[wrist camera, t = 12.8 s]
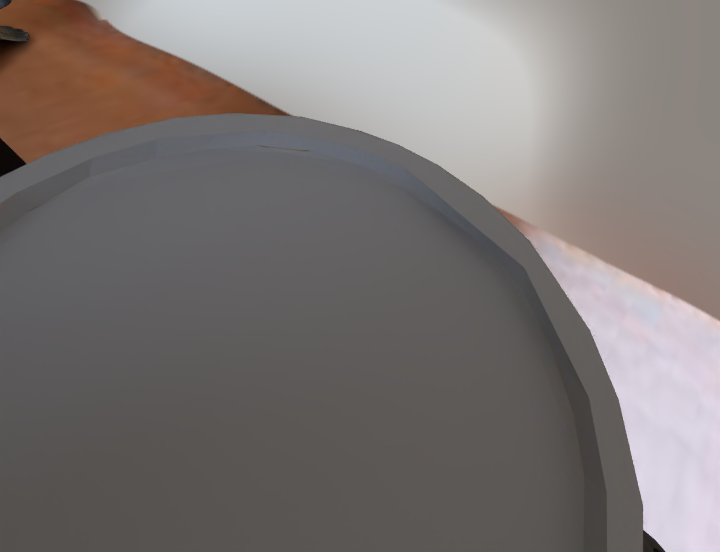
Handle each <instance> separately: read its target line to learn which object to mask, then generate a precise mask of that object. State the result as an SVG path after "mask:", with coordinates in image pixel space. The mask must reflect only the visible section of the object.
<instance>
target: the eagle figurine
mask: <svg viewBox="0 0 720 552" xmlns="http://www.w3.org/2000/svg"><path fill="white" fill-rule="evenodd" d="M10 3H11V0H0V9H2V8H4V7H6V6H7V5H9V4H10ZM28 36H29V33H27V32H24V30H21V29H14V28H13V27H9V26H0V39H3V40H11V41H19V42H27V39H29V37H28Z"/></svg>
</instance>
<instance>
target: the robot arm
mask: <svg viewBox="0 0 720 552" xmlns="http://www.w3.org/2000/svg"><path fill="white" fill-rule="evenodd" d="M643 552H665V551H664V550H663V548H662V547H661V546H660V545H659V544H658V543H657V541H656V540H655V539H653V538H652V537H651V536H650V535H649V534H647V533H646V532H645V531H644V530H643Z"/></svg>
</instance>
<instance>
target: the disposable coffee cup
mask: <svg viewBox="0 0 720 552" xmlns="http://www.w3.org/2000/svg"><path fill="white" fill-rule="evenodd" d="M0 552H643V504H642V499H641V495H640V491H639V486H638V482H637V478H636V473H635V469H634V465H633V460H632V456H631V452H630V447H629V443H628V439H627V434H626V430H625V426H624V421H623V417H622V413H621V408H620V404H619V400H618V397H617V395H616V392H615V390H614V388H613V385H612V383H611V380H610V378H609V376H608V373H607V371H606V368H605V366H604V363H603V361H602V359H601V356H600V354H599V351H598V349H597V347H596V344H595V342H594V339H593V337H592V335H591V332H590V330H589V328H588V327H587V325H586V324H585V322H584V321H583V319H582V318H581V316H580V315H579V313H578V312H577V310H576V309H575V307H574V306H573V304H572V303H571V301H570V300H569V298H568V297H567V295H566V294H565V292H564V291H563V289H562V288H561V286H560V285H559V283H558V282H557V280H556V279H555V277H554V276H553V274H552V273H551V272H550V270H549V269H548V267H547V266H546V264H545V263H544V261H543V260H542V258H541V257H540V256H539V254H538V253H537V251H536V250H535V248H534V247H533V245H532V244H531V242H530V241H529V240H528V239H527V238H526V237H525V236H524V235H523V234H522V233H521V232H520V231H519V230H518V229H517V228H516V227H514V226H513V225H512V224H511V223H510V222H509V221H508V220H507V219H506V218H505V217H504V216H503V215H502V214H501V213H500V212H499V211H498V210H497V209H496V208H495V207H494V206H493V205H491V204H490V203H489V202H488V201H487V200H486V199H485V198H484V197H483V196H482V195H480V194H479V193H477V192H476V191H474V190H473V189H471V188H470V187H469V186H467V185H466V184H464V183H463V182H461V181H460V180H459V179H457V178H456V177H454V176H453V175H451V174H450V173H449V172H447V171H446V170H444V169H443V168H441V167H440V166H439V165H437V164H435V163H433V162H431V161H429V160H427V159H425V158H423V157H421V156H419V155H417V154H415V153H413V152H411V151H409V150H407V149H405V148H404V147H402V146H400V145H397V144H395V143H392V142H389V141H386V140H384V139H381V138H378V137H375V136H373V135H370V134H367V133H364V132H362V131H359V130H354V129H350V128H346V127H342V126H338V125H334V124H329V123H325V122H321V121H317V120H313V119H309V118H305V117H296V116H278V115H259V114H240V113H229V114H217V115H204V116H192V117H179V118H172V119H167V120H163V121H158V122H154V123H150V124H145V125H141V126H137V127H132V128H128V129H123V130H119V131H115V132H110V133H106V134H103V135H101V136H98V137H95V138H92V139H89V140H87V141H84V142H81V143H78V144H75V145H72V146H70V147H67V148H64V149H61V150H58V151H56V152H53V153H50V154H47V155H45V156H43V157H41V158H39V159H37V160H35V161H33V162H30V163H28V164H26V165H24V166H22V167H20V168H18V169H16V170H14V171H12V172H10V173H8V174H6V175H3V176H2V177H0Z"/></svg>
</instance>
